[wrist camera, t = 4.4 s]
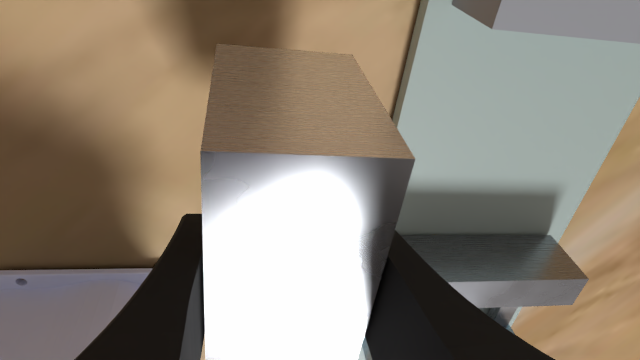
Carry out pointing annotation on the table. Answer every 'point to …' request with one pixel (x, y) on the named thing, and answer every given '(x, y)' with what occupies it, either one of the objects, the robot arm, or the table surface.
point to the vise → (512, 111)
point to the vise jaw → (501, 271)
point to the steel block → (295, 203)
